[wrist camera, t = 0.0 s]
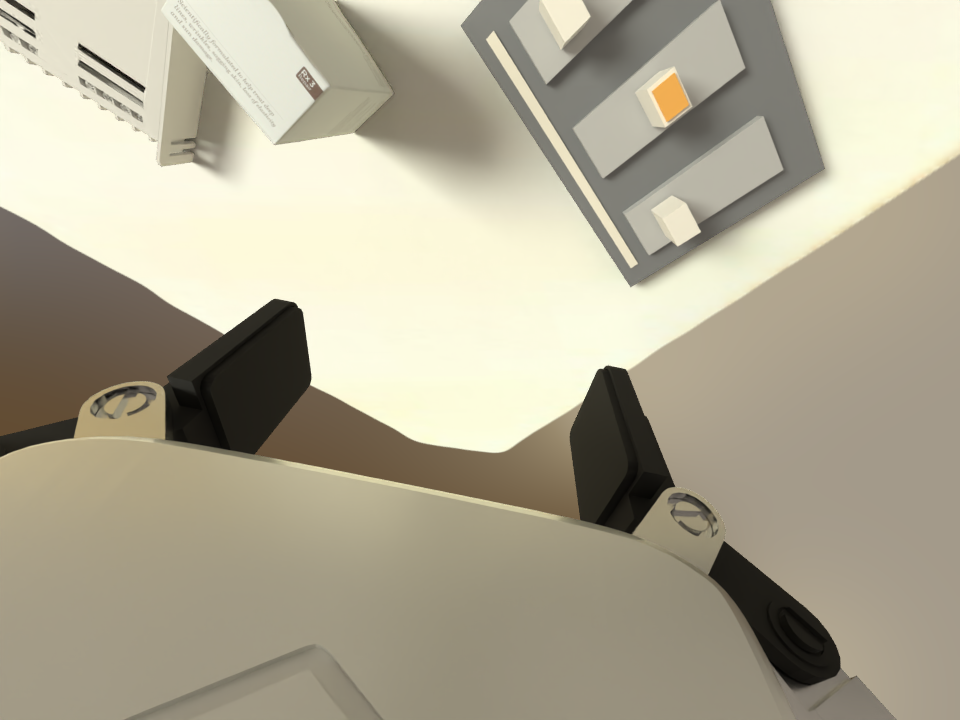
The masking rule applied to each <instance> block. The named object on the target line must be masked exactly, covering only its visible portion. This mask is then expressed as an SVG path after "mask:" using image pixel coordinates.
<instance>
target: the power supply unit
mask: <svg viewBox="0 0 960 720" xmlns="http://www.w3.org/2000/svg"><path fill="white" fill-rule="evenodd" d="M15 1H17V2H18V3H20V4H21V5H23V6H24V7H26V8H27V9H29V10H30V11H32V12H33V13H35V17H34V16H32V15H31V14H29V13H28V12H26V11H25V10H23V9H22V8H17V7H13V6H12V5H10V4H9V3H7V2H6V1H4V0H0V41H1V42H3V44H4V46H5V49H6V50H8V51H10V52H12V53H18V54H21V55H23V56H24V57H25V60H26V62H27V63H28V64H34V65H39V66H40V67H42V70H43V73H44V74H46V75H51V76H56V77H57V78H59V79H61V80H62V84H63V86H65V87H69V88H75V89H76V90H78V91H79V92H80V95H81V97H82V98H84V99H92V100H93V101H95V102H97V103H98V108H99V109H101V110H109V111H111V112H112V113H114V114H115V118H116V119H117V120H118V121H126V122H128V123H130V124H131V125H132V129H133V130H134V131H142V132H144V133H145V134H147V135H148V136H149V140H150V141H151V142H154V141H158V145H157V156H156V160H157V163H158V165H160V166H161V167H162V166H169V165H176V164H183V163H190V162H192V161H193V157H194V153H192V152H191V151H188V152H183V149H191V148H195V145H196V143H194V142H193V141H184V139H188V138H196V137H197V131H198V124H199V118H200V112H201V105H202V99H203V93H204V86H205V80H206V73H207V66H206V65H205V63H204V62H203V61H202V60H201V59H200V58H199V56H198V55H197V54H196V53H195V52H194V50H193V49H192V48H191V47H190V46H189V45H188V43H187V42H186V41H185V40H184V39H183V37H182V36H181V35H180V34H179V33H178V32H177V30H176V29H175V28H174V27H173V26H172V25H171V23H170V22H169V21H168V20H167V19H166V17H165V16H164V15H163V14H162V12H161V10H162V7H163V6H164V4H165V2H166V1H167V0H15ZM79 43H80V45H83V46H84V47H86V48H87V49H89V50H90V51H92V52H93V53H95V54H96V55H98V56H99V57H101V58H102V59H104V60H105V61H107V62H108V63H110V64H111V65H113V66H114V67H116V68H117V69H119V70H120V71H122V72H123V73H125V74H126V75H128V76H129V77H131V78H132V79H134V80H135V81H137V82H138V83H140V84H141V85H143V86H144V87H146V88H145V90H144V89H142V88H141V87H139V86H138V85H136V84H135V83H133V82H132V81H130V80H129V79H127V78H126V77H124V76H123V75H121V74H120V73H118V72H117V71H115V70H114V69H112V68H111V67H109V66H108V65H106V64H105V63H103V62H102V61H100V60H99V59H97V58H96V57H94V56H93V55H91V54H90V53H88V52H87V51H85V50H84V49H82V48H83V47H82V48H81V47H79V46H78V45H79ZM178 152H179V153H178Z"/></svg>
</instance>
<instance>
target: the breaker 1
mask: <svg viewBox="0 0 960 720" xmlns="http://www.w3.org/2000/svg"><path fill="white" fill-rule="evenodd" d="M539 12H540V14H541V15H542V17H543V19H544V21H545V22H546V24H547V26H548V28H549V30H550V31H551V33H552V35H553V37H554V38H555V40H556V42H557V44H558V46H559V47H560V49H561V50H562V49H563V48H564V47H565V46H566V45H567V44H568V43H569V42H570V41H571V40H572V39H573V38H574V37H575V36H576V35H577V34H578V33H579V32H580V31H581V30H582V29H583V28H584V26H585V25H586V23H587V22H588V20H589V19H590V17H591V16H590V14H589V12H588V10H587V8H586V6H585V5H584V3H583V1H582V0H540V2H539Z"/></svg>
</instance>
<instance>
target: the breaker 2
mask: <svg viewBox="0 0 960 720" xmlns="http://www.w3.org/2000/svg"><path fill="white" fill-rule="evenodd" d="M651 211H652V213H653V215H654V217H655V218H656V220H657V222H658V224H659V226H660V227H661V229H662V231H663V233H664V235H665V236H666V237H667V238H668V239H670V240H671V241H672V242H673V243H674V244H675V245H676V246H679V245H681V244H683V243H684V242H686V241H687V240H689V239H691V238H692V237H694V236H695V235H697V234H699V233H700V232H701V231H700V229H699V227H698V225H697V223H696V221H695V219H694V218H693V216H692V214H691V212H690V210H689V208H688V206H687V204H686V203H685V202H683V201H682V200H680V199H678V198H676V197H674V196H670V197H669V198H667V199H666V200H664V201H663V202H661V203H660V204H659V205H657V206H656V207H654V208H653V209H651Z"/></svg>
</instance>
